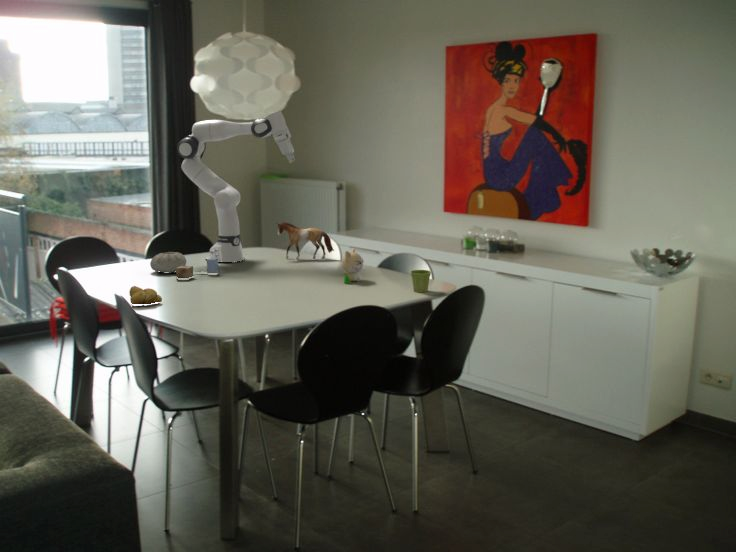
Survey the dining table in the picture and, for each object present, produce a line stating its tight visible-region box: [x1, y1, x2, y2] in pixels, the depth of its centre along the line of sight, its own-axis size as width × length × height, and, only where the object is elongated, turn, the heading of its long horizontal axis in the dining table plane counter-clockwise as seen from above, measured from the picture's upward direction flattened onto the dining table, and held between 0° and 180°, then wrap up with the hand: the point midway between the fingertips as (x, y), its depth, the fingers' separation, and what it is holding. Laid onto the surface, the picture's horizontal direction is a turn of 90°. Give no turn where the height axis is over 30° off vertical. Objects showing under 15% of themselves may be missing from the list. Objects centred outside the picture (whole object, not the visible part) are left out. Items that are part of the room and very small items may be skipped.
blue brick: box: [206, 258, 219, 274], centre depth 396 cm, size 4×4×8 cm
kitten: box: [341, 247, 365, 285], centre depth 375 cm, size 15×10×15 cm, turn 161°
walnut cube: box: [175, 265, 195, 278], centre depth 386 cm, size 6×6×6 cm
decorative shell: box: [149, 251, 187, 273], centre depth 405 cm, size 18×18×10 cm
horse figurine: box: [275, 222, 335, 260], centre depth 435 cm, size 31×8×21 cm, turn 85°
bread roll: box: [128, 285, 163, 305], centre depth 332 cm, size 13×10×8 cm
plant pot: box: [409, 269, 432, 293], centre depth 352 cm, size 9×9×9 cm
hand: (292, 162), depth 419 cm, fingers open, 8 cm apart
